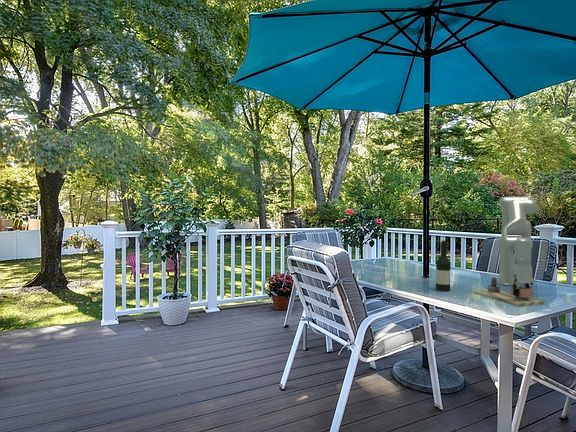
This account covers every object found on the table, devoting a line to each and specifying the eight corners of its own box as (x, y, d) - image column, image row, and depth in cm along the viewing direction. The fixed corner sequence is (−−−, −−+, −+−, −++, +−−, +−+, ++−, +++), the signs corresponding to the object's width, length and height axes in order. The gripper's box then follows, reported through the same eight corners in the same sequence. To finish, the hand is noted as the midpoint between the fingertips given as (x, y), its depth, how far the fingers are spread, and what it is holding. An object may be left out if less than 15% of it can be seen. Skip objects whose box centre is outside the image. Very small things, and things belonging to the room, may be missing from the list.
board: (497, 290, 221) (497, 275, 221) (545, 303, 192) (545, 285, 192) (473, 292, 216) (473, 276, 216) (518, 306, 187) (518, 287, 187)
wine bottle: (440, 287, 229) (440, 239, 228) (453, 290, 222) (454, 240, 221) (432, 289, 224) (433, 240, 223) (446, 292, 217) (446, 241, 216)
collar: (521, 293, 200) (521, 286, 200) (532, 296, 193) (533, 289, 193) (510, 294, 198) (511, 287, 198) (522, 297, 191) (522, 290, 191)
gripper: (528, 260, 201) (527, 292, 201) (503, 261, 196) (502, 294, 196) (541, 262, 194) (540, 295, 194) (516, 263, 189) (515, 298, 189)
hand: (521, 295), depth 195 cm, fingers closed on collar, 7 cm apart
